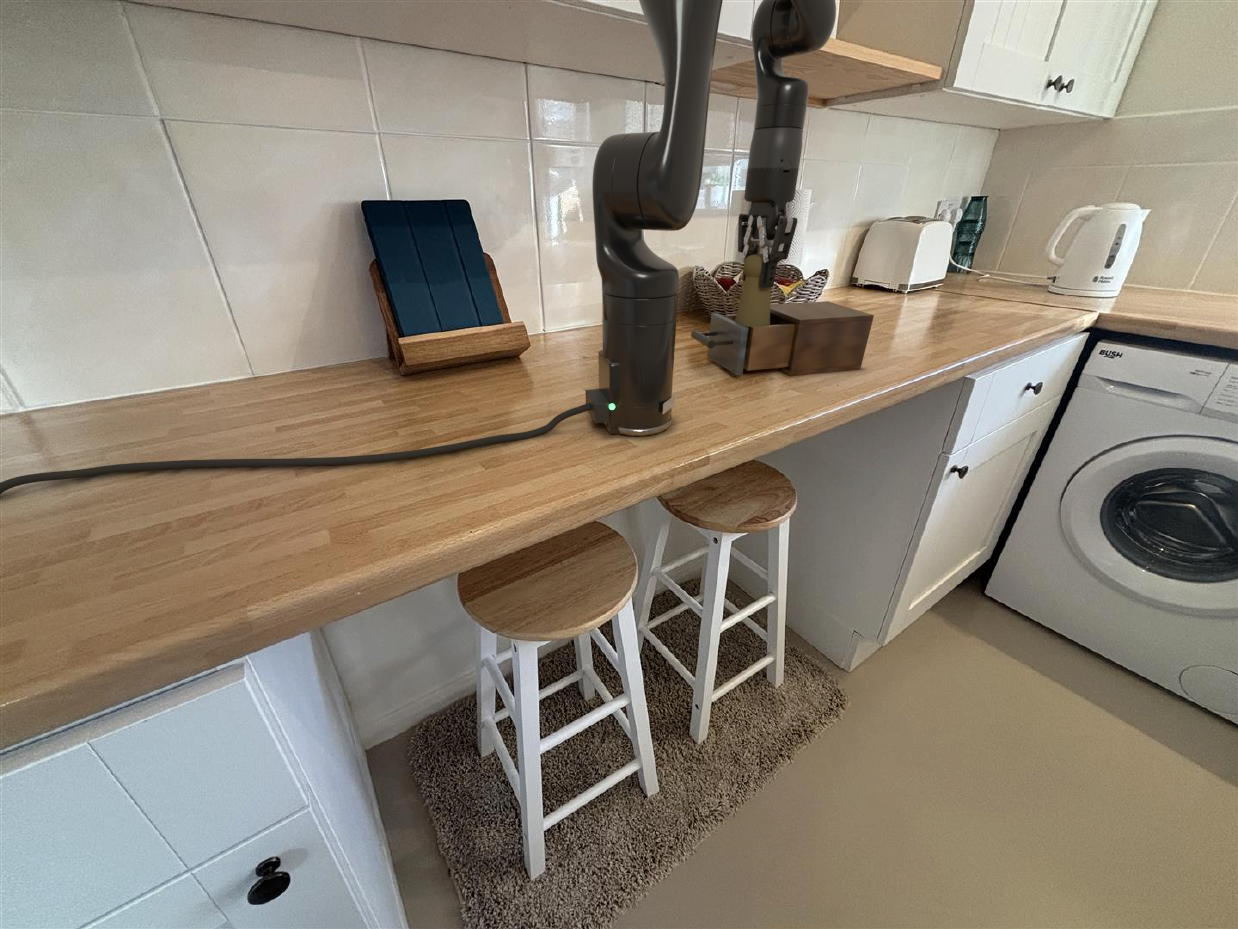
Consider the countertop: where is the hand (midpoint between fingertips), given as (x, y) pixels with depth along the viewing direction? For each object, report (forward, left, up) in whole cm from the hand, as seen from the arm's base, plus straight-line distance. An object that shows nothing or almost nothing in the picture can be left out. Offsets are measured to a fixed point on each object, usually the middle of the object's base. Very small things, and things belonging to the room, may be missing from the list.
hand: (757, 283), depth 82 cm
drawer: (-1, 0, -14) cm, 14 cm away
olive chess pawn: (0, 0, -7) cm, 7 cm away
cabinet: (+12, 0, -14) cm, 19 cm away
